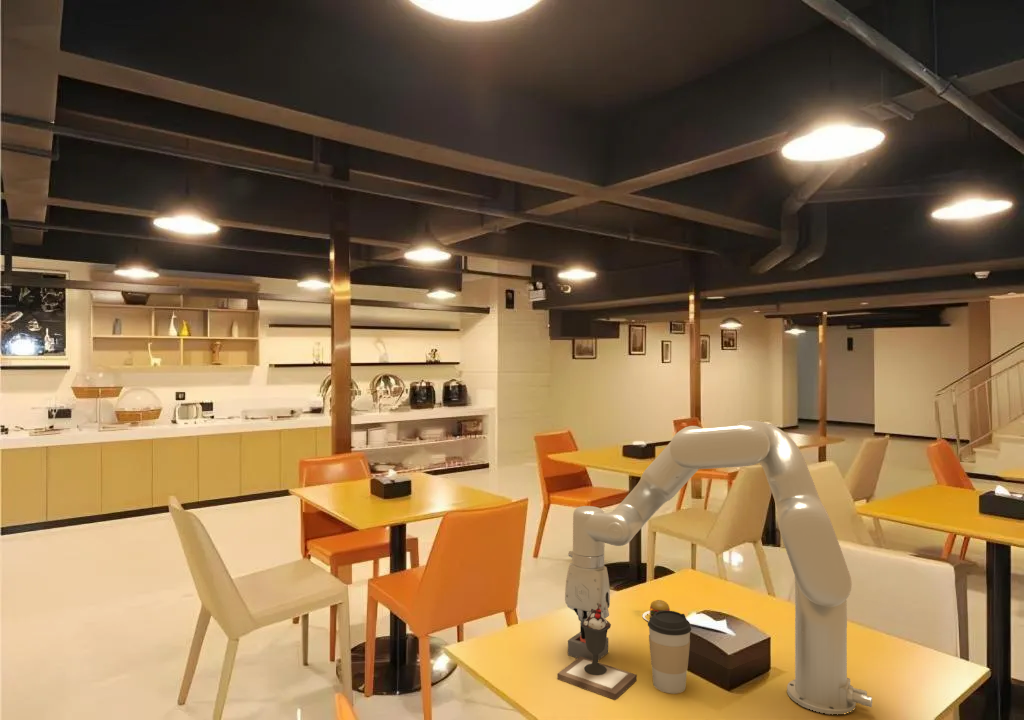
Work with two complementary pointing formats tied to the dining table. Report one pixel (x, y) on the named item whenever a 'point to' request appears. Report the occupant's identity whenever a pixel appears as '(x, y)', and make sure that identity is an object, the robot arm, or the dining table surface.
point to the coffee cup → (669, 650)
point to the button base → (583, 648)
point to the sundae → (595, 639)
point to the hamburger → (656, 608)
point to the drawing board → (597, 678)
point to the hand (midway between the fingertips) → (587, 637)
